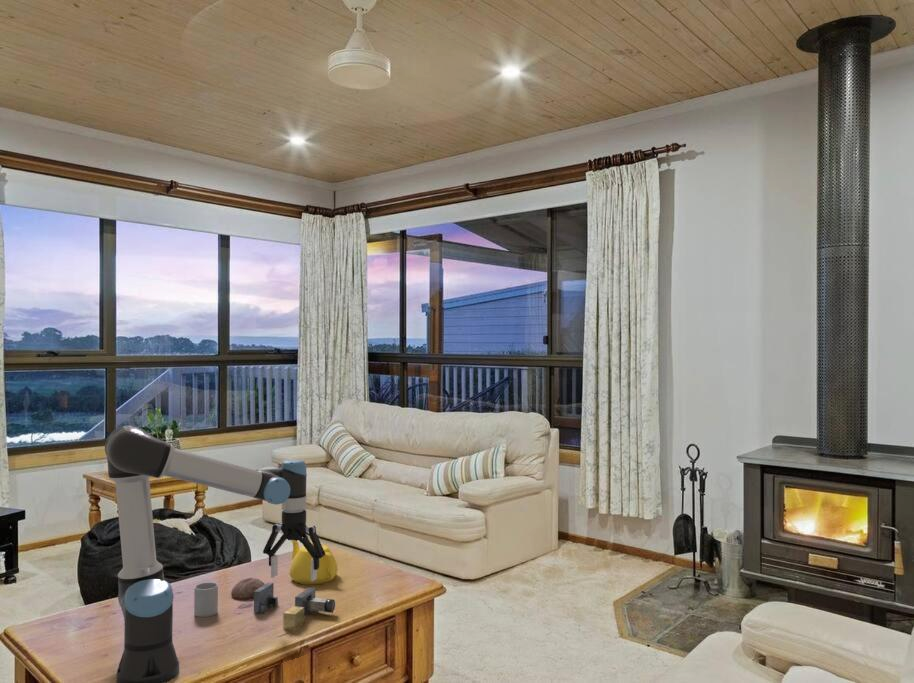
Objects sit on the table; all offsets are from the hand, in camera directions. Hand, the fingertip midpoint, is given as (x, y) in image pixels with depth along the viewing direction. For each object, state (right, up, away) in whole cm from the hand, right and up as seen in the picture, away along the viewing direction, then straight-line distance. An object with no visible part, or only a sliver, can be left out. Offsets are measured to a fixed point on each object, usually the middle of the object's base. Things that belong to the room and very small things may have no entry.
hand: (293, 578), depth 215 cm
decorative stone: (-23, -16, +28) cm, 39 cm away
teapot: (-4, -16, +46) cm, 49 cm away
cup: (-32, -15, +11) cm, 37 cm away
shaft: (+5, -14, +10) cm, 18 cm away
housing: (-6, -15, +13) cm, 20 cm away
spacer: (0, -15, 0) cm, 15 cm away
